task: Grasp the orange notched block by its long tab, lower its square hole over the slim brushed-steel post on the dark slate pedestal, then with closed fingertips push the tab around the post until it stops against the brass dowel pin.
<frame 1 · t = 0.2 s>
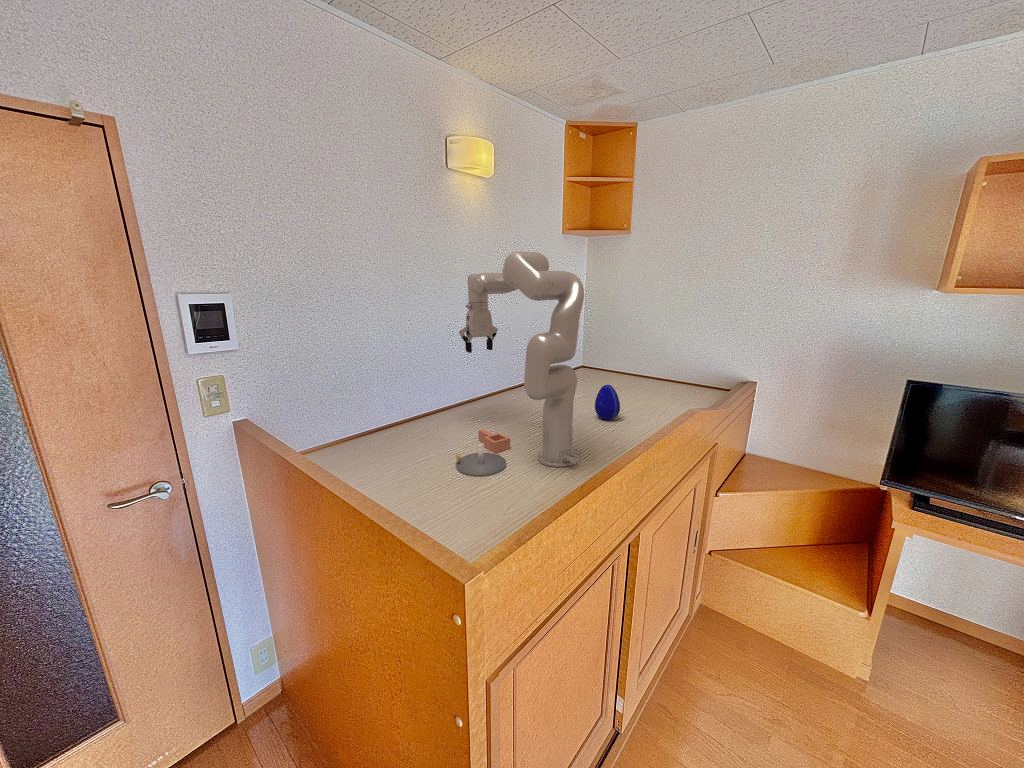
hand: (479, 350, 162), 31 cm above the loft bed platform, fingers open, 9 cm apart
ornament: (606, 419, 175), on the loft bed platform
post base: (481, 465, 132), on the loft bed platform
orange notched block: (481, 439, 153), on the loft bed platform
dowel pin: (458, 465, 132), resting on post base
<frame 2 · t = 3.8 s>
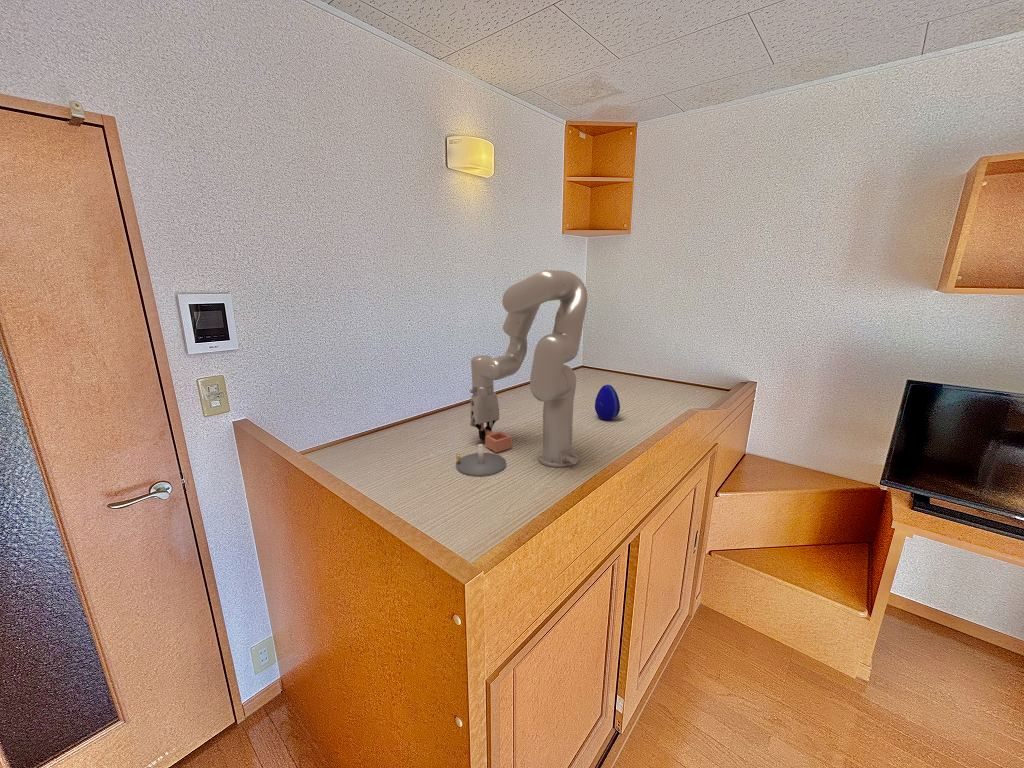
hand: (485, 438, 151), 1 cm above the loft bed platform, fingers closed on orange notched block, 2 cm apart
orange notched block: (482, 438, 153), point 1 cm above the loft bed platform, touching gripper
everything else where it was.
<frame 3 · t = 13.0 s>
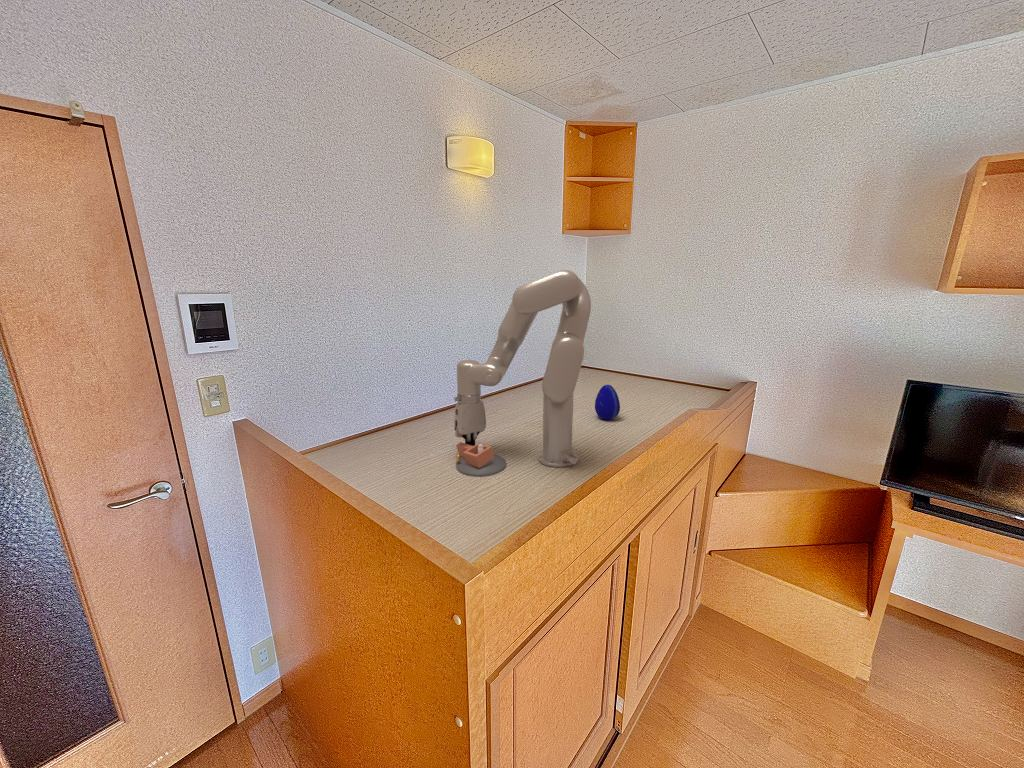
hand: (470, 450, 139), 2 cm above the loft bed platform, fingers closed
orange notched block: (461, 454, 139), point 1 cm above the loft bed platform, tilted 13°, touching gripper, post base
everything else where it was.
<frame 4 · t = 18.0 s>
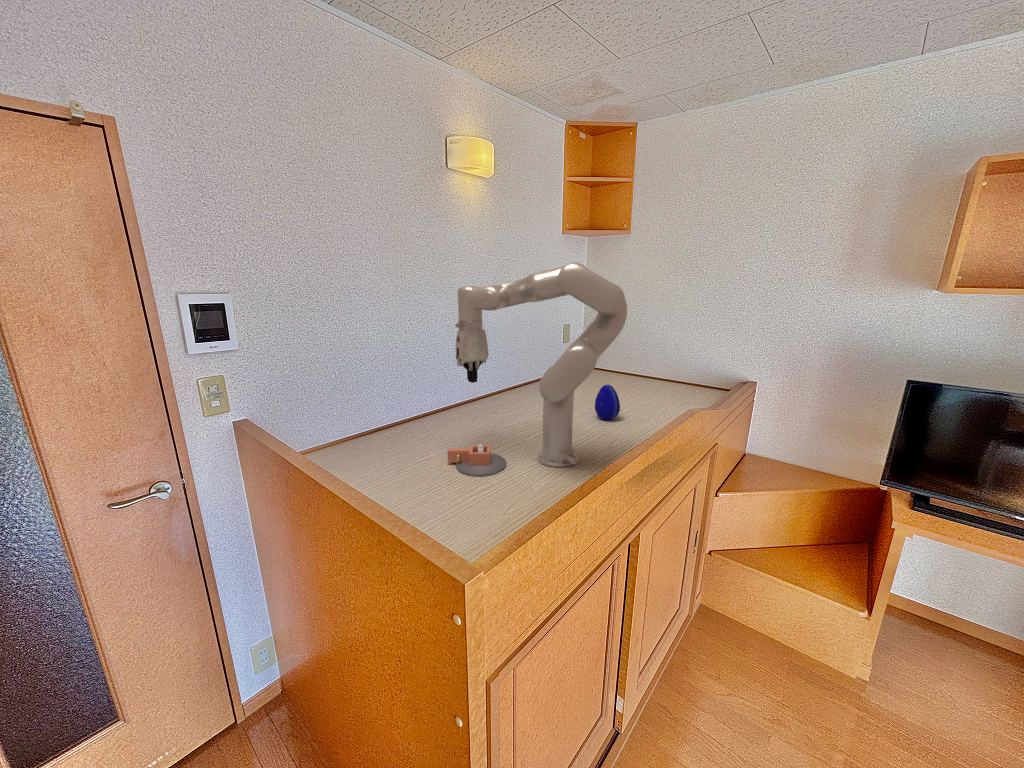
hand: (472, 381, 136), 25 cm above the loft bed platform, fingers closed
orange notched block: (448, 461, 133), point 1 cm above the loft bed platform, touching post base
everything else where it was.
at the end: orange notched block 0.7 cm from the target spot, point 0.8 cm above the loft bed platform; orange notched block 3.8 cm from the dowel pin (horizontally) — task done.
